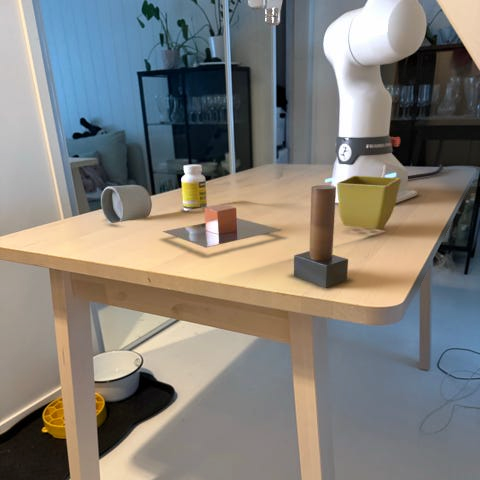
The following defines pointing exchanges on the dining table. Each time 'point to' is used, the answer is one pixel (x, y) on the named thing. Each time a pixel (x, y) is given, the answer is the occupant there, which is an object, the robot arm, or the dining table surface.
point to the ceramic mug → (125, 203)
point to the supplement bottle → (193, 187)
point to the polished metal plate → (207, 239)
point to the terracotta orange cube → (221, 219)
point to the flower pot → (367, 200)
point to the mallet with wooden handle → (321, 243)
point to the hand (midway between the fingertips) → (265, 16)
